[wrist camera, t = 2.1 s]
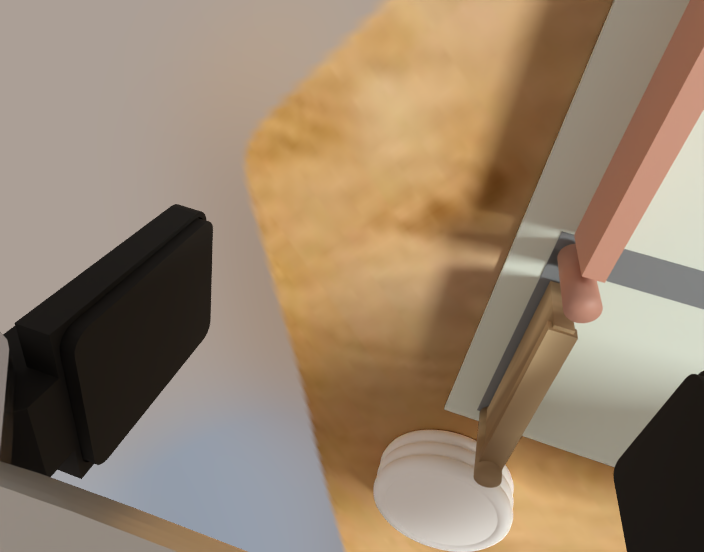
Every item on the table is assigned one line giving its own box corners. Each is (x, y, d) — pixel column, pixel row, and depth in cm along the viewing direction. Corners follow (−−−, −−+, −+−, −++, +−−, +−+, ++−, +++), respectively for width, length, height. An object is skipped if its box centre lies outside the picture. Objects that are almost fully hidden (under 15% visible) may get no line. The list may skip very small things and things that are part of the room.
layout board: (1209, 26, 17) (1222, 27, 16) (715, 498, 33) (717, 503, 32) (648, -83, 19) (650, -84, 19) (444, 406, 35) (443, 410, 35)
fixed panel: (574, 284, 27) (583, 344, 23) (499, 426, 34) (496, 491, 30) (544, 276, 27) (548, 333, 23) (476, 418, 34) (470, 481, 30)
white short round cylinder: (541, 471, 36) (543, 515, 33) (468, 529, 42) (464, 571, 39) (418, 404, 36) (410, 443, 33) (362, 472, 42) (350, 510, 39)
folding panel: (582, 274, 26) (592, 327, 23) (552, 265, 26) (556, 316, 23) (759, -56, 18) (821, -59, 14) (712, -65, 18) (761, -71, 14)
